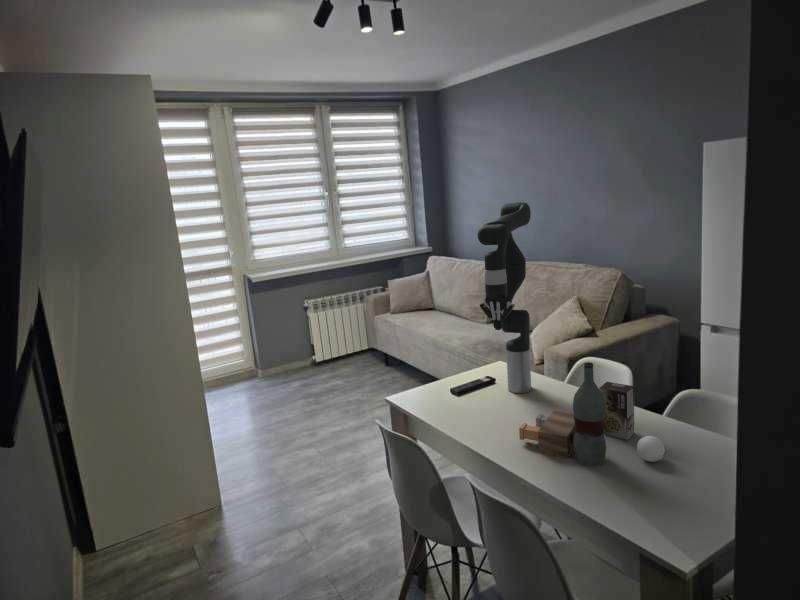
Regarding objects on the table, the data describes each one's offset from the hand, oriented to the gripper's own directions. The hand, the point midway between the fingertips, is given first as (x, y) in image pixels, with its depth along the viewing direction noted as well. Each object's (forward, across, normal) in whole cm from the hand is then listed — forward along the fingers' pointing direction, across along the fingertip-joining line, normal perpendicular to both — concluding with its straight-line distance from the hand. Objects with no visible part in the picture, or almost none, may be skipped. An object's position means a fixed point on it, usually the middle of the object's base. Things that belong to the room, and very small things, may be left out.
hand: (498, 329), depth 190 cm
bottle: (+32, -36, +21) cm, 53 cm away
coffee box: (+32, -40, +1) cm, 51 cm away
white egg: (+32, -51, +14) cm, 62 cm away
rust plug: (+30, -21, +19) cm, 41 cm away
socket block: (+32, -26, +14) cm, 43 cm away
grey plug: (+30, -23, +9) cm, 39 cm away
